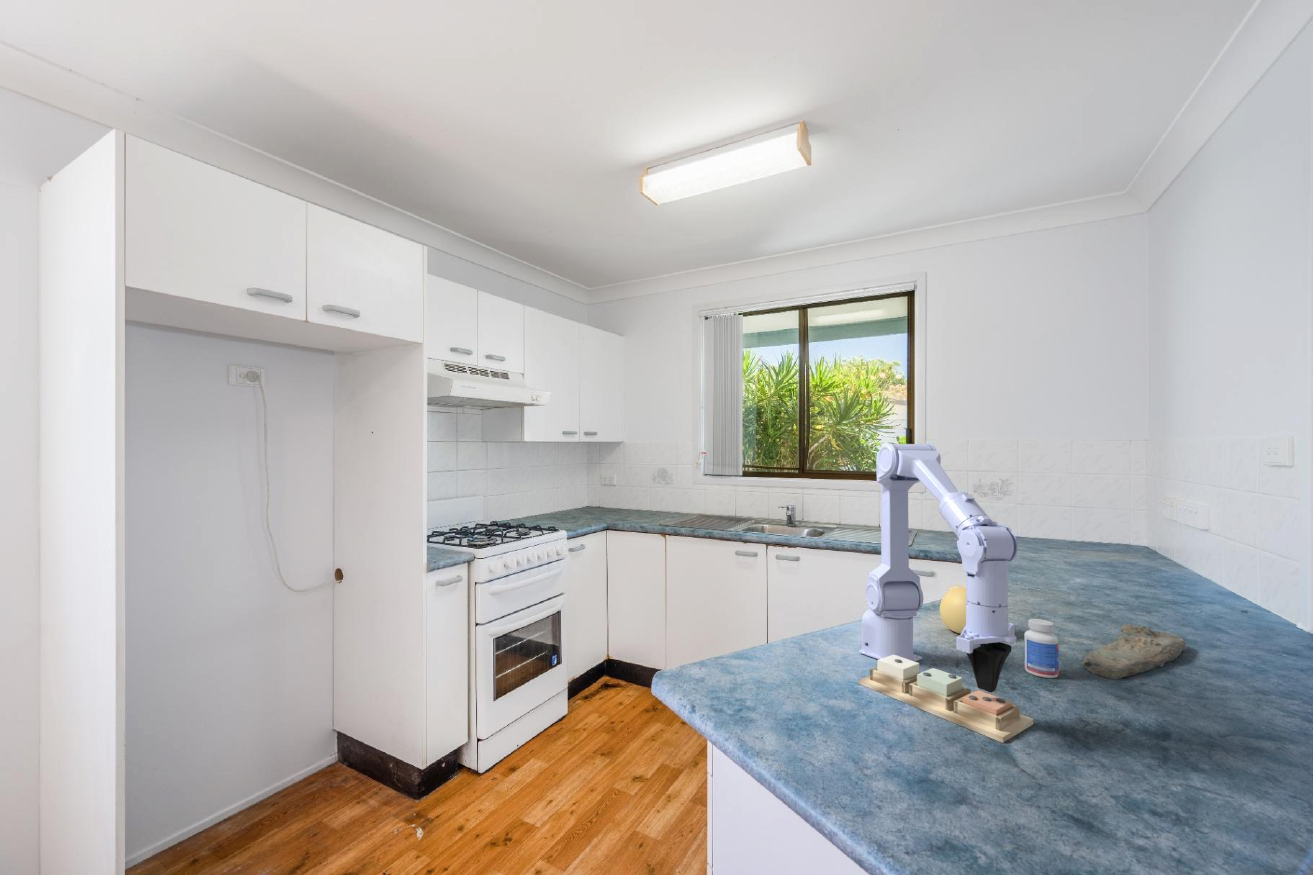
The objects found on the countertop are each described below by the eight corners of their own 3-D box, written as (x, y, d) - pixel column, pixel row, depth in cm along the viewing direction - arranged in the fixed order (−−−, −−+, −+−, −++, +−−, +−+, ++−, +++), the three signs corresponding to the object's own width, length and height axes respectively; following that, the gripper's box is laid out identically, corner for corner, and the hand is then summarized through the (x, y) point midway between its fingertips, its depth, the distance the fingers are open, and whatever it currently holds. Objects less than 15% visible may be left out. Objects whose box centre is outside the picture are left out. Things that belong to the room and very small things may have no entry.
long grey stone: (1066, 674, 109) (1129, 696, 101) (1067, 648, 109) (1130, 668, 100) (1139, 636, 127) (1198, 652, 118) (1140, 613, 127) (1199, 628, 118)
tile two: (917, 688, 93) (917, 672, 93) (933, 681, 96) (933, 666, 96) (946, 699, 89) (946, 683, 89) (962, 692, 92) (962, 676, 92)
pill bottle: (1064, 680, 102) (1064, 627, 103) (1032, 677, 103) (1032, 625, 104) (1050, 668, 108) (1049, 618, 108) (1019, 666, 109) (1019, 616, 109)
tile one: (877, 673, 99) (877, 658, 100) (893, 667, 102) (893, 653, 102) (903, 683, 95) (903, 668, 95) (919, 676, 98) (919, 662, 98)
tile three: (962, 712, 87) (962, 696, 87) (978, 704, 90) (978, 688, 90) (996, 726, 83) (996, 708, 83) (1011, 717, 86) (1011, 700, 86)
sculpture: (1007, 635, 128) (1007, 588, 128) (978, 643, 121) (978, 594, 122) (958, 621, 137) (958, 578, 138) (929, 629, 131) (929, 583, 132)
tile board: (859, 683, 100) (859, 669, 100) (891, 671, 105) (891, 657, 105) (1002, 742, 80) (1002, 724, 80) (1033, 724, 86) (1033, 707, 86)
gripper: (991, 616, 79) (991, 711, 79) (1035, 601, 88) (1035, 687, 87) (942, 604, 85) (942, 692, 85) (988, 591, 93) (988, 672, 93)
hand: (986, 689), depth 87 cm, fingers closed
